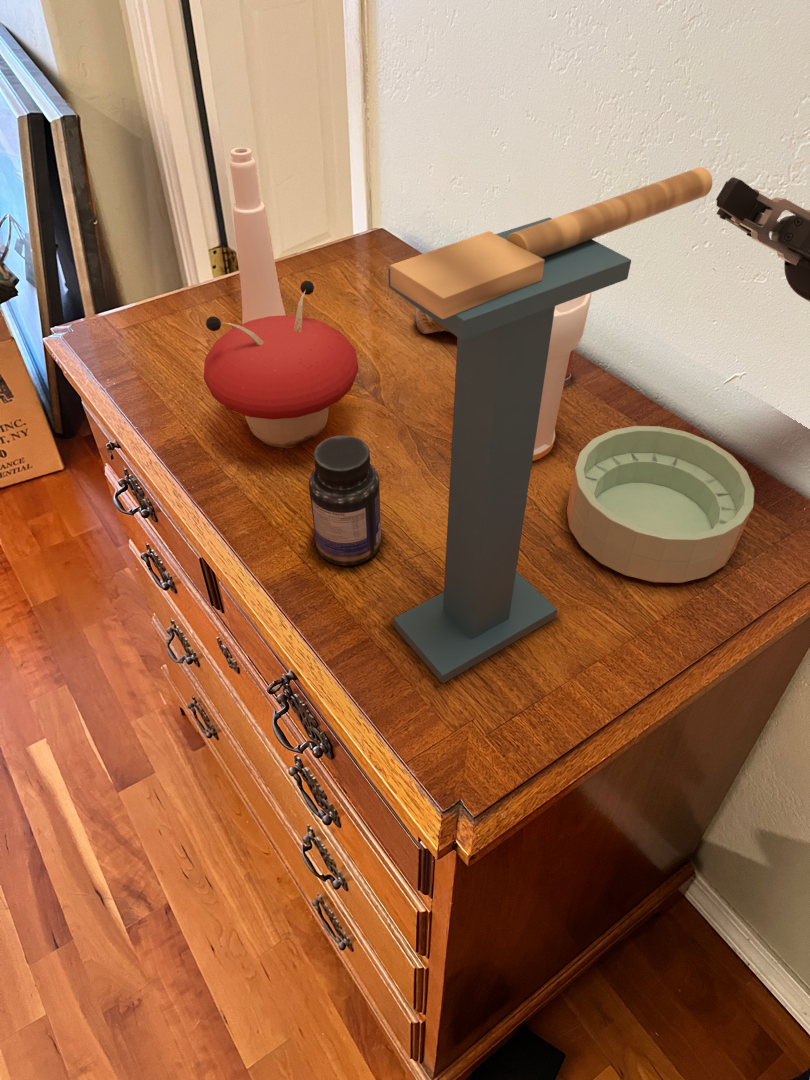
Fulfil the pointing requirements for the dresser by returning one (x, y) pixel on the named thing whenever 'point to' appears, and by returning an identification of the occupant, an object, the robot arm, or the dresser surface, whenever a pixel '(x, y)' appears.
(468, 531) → the headphone stand
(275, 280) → the cosmetic bottle
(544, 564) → the dresser surface
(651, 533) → the bowl
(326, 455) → the pill bottle
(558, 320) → the cup
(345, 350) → the mushroom
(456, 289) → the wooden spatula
